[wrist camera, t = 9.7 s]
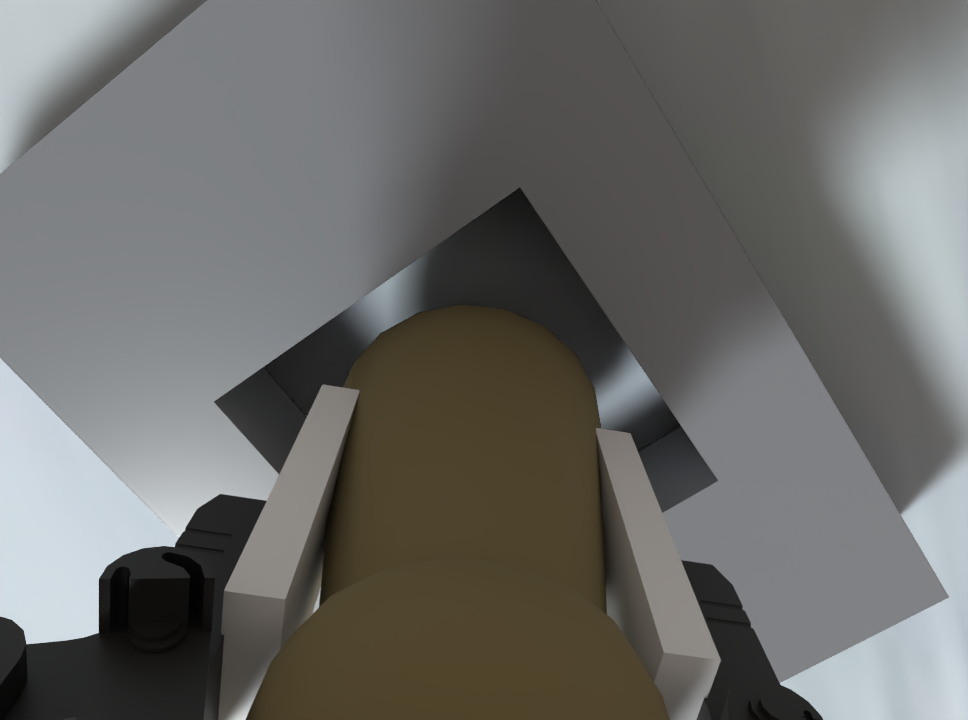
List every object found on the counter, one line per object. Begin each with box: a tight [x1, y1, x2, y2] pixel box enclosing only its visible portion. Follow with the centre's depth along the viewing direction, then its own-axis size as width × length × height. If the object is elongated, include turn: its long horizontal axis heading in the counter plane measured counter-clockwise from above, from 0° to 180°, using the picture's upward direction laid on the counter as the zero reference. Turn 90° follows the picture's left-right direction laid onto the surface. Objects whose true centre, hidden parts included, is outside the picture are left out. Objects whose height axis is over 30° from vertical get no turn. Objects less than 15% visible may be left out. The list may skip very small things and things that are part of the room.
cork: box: [246, 304, 670, 720], centre depth 13 cm, size 6×6×11 cm
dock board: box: [0, 0, 949, 683], centre depth 19 cm, size 20×14×3 cm
